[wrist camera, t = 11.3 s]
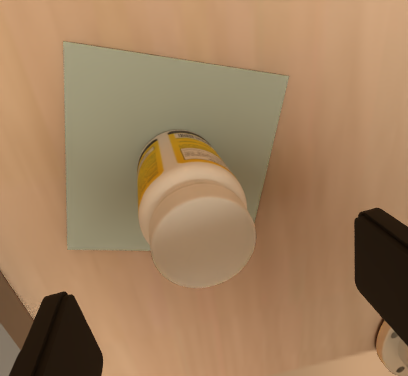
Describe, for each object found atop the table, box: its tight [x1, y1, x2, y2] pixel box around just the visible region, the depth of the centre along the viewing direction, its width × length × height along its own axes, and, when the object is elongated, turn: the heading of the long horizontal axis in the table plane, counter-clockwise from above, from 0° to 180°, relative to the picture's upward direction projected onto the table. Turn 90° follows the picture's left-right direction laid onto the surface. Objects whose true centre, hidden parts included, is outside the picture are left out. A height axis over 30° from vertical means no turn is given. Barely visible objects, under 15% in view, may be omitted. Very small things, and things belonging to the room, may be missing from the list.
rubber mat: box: [63, 41, 289, 251], centre depth 19 cm, size 12×12×1 cm
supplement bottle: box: [137, 130, 256, 288], centre depth 15 cm, size 5×5×8 cm
